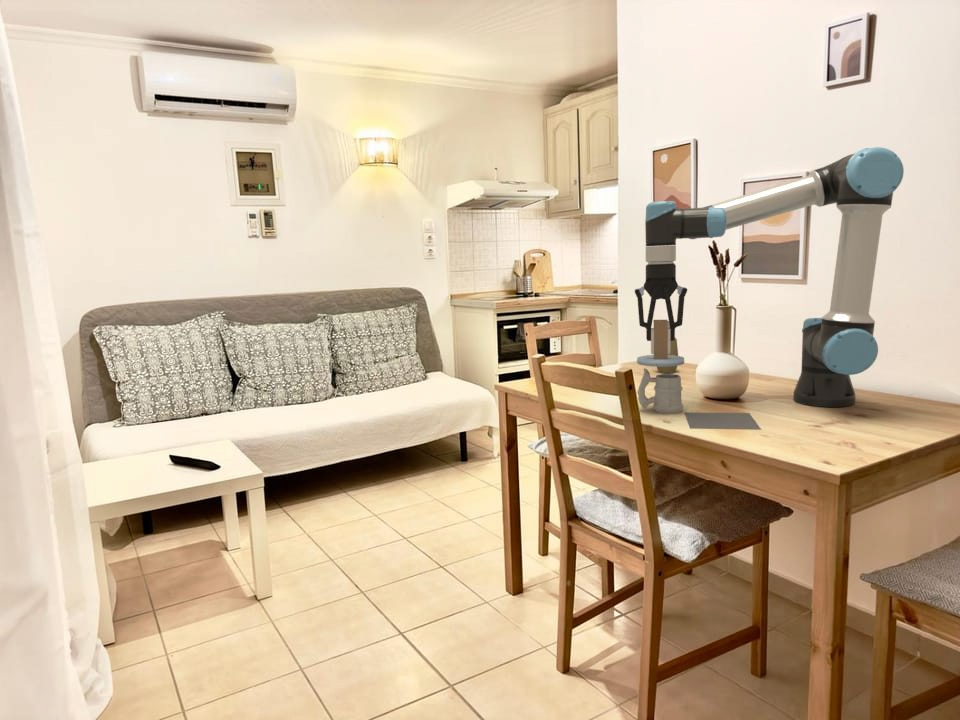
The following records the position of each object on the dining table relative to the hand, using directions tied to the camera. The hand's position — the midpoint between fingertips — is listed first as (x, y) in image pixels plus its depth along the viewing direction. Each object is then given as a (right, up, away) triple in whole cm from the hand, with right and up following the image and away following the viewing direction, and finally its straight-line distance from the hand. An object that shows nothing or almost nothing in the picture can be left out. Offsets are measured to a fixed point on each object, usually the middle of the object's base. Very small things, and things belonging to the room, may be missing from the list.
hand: (660, 352), depth 177 cm
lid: (0, -3, 0) cm, 3 cm away
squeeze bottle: (+18, -6, +59) cm, 62 cm away
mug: (+1, -16, +3) cm, 16 cm away
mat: (+12, -17, -10) cm, 24 cm away
